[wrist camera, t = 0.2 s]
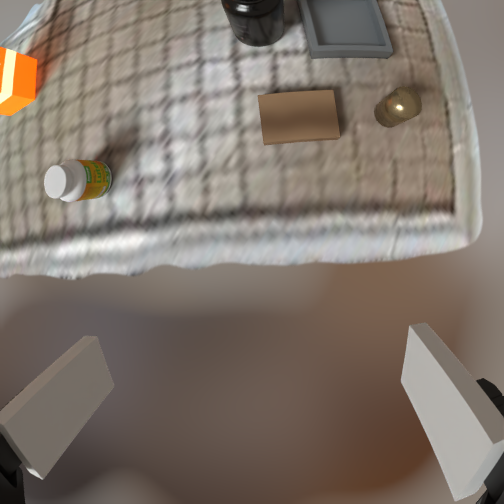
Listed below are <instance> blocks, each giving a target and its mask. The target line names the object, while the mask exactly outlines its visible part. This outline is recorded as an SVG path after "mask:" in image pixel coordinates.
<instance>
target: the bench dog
mask: <svg viewBox="0 0 504 504" xmlns="http://www.w3.org/2000/svg"><path fill="white" fill-rule="evenodd" d="M421 108H422V103H421V99H420V97H419V96H418V94H417V93H416V92H415V91H414V90H413V89H411V88H409V87H405V86H402V87H399V88H397V89H396V90H394V91H393V92H392V93H391V94H389V95H388V96H387V97H386V98H384V99H383V100H382V101H381V102H379V103H378V104H377V105H376V107H375V109H374V115H375V118H376V120H377V121H378V122H379V123H380V124H381V125H382V126H384V127H388V128H390V127H394V126H396V125H398V124H400V123H403V122H405V121H407V120H409V119H411V118H413V117H415V116H417V115H418V114H419V113H420V111H421Z"/></svg>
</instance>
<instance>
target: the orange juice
mask: <svg viewBox="0 0 504 504" xmlns="http://www.w3.org/2000/svg"><path fill="white" fill-rule="evenodd" d="M36 68H37V60H36V59H34V58H31V57H28V56H25V55H22V54H20V53H17V52H15V51H12V50H9V49H5V48H2V47H0V114H2V115H10V116H11V115H12V114H14V113H15V112H17V111H18V110H20V109H21V108H23V107H24V106H26V105H28V104H29V103H31V102H32V101H34V100H35V84H36Z"/></svg>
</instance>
